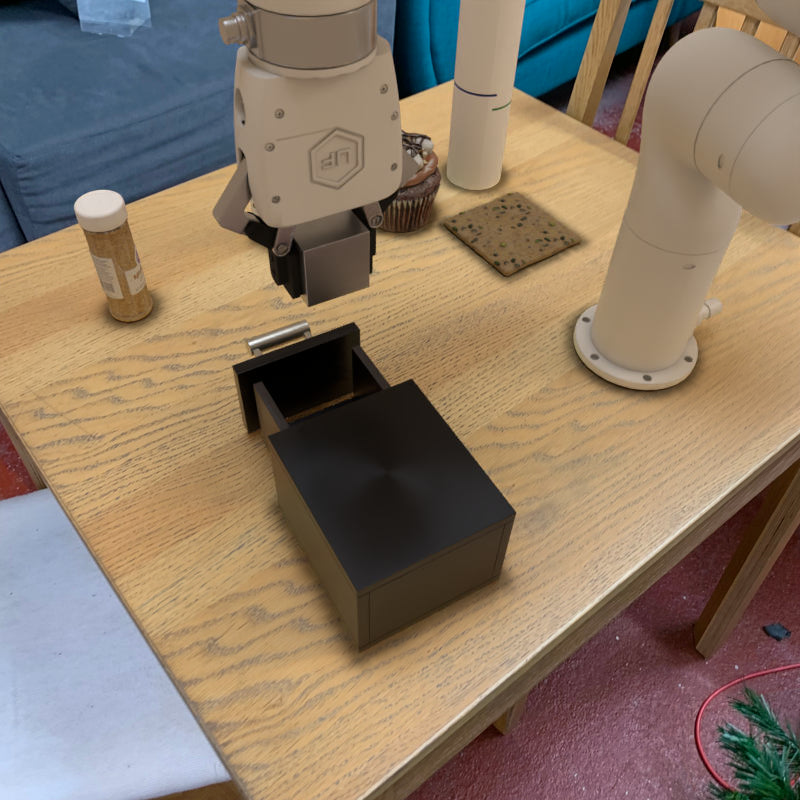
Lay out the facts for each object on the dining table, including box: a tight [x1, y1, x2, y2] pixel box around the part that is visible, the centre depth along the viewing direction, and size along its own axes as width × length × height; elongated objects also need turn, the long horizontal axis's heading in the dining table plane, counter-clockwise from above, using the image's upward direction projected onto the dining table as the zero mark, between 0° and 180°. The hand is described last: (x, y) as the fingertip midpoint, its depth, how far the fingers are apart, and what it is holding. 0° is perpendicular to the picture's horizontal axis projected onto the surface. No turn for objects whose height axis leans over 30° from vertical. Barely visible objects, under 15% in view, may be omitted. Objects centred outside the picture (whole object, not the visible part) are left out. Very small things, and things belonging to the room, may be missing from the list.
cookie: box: [443, 191, 582, 277], centre depth 92 cm, size 12×12×1 cm
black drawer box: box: [268, 378, 517, 654], centre depth 60 cm, size 15×13×10 cm
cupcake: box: [378, 128, 442, 233], centre depth 91 cm, size 10×10×10 cm
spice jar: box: [73, 189, 154, 323], centre depth 77 cm, size 5×5×14 cm
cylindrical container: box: [446, 0, 527, 191], centre depth 91 cm, size 7×7×25 cm
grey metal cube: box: [292, 210, 371, 308], centre depth 55 cm, size 5×5×5 cm
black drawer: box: [231, 319, 392, 452], centre depth 67 cm, size 19×12×8 cm, turn 30°
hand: (324, 273), depth 57 cm, fingers closed on grey metal cube, 5 cm apart
